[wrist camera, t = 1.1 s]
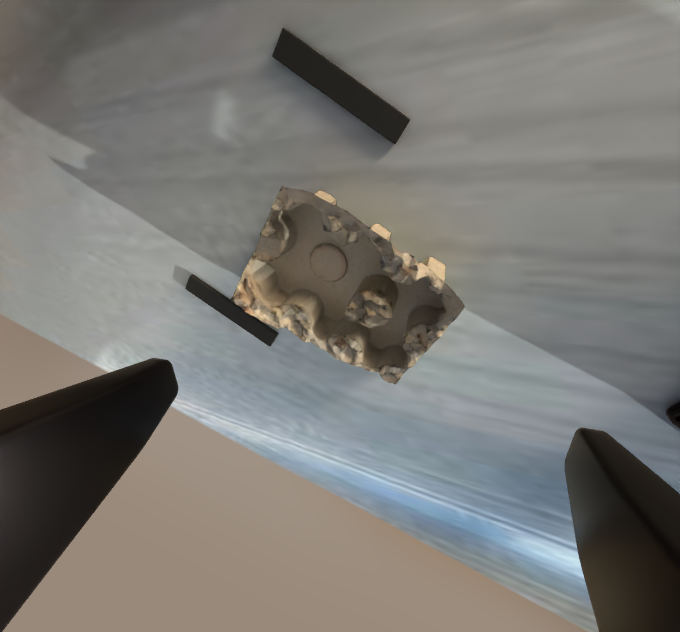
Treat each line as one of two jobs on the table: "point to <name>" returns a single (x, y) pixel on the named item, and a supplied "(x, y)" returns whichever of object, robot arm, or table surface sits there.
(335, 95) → the bay strips
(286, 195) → the tan rough lump
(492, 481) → the table surface
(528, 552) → the table surface
